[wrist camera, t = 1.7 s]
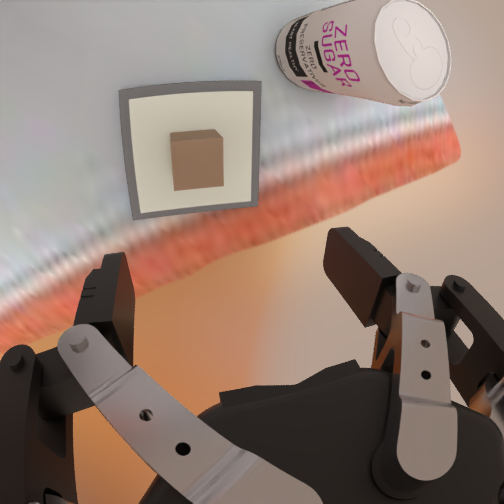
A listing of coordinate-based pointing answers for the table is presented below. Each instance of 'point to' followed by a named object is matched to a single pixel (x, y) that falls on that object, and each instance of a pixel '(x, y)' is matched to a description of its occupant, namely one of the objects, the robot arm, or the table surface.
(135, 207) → the rubber mat
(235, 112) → the board
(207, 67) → the table surface
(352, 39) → the supplement can
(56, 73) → the table surface
